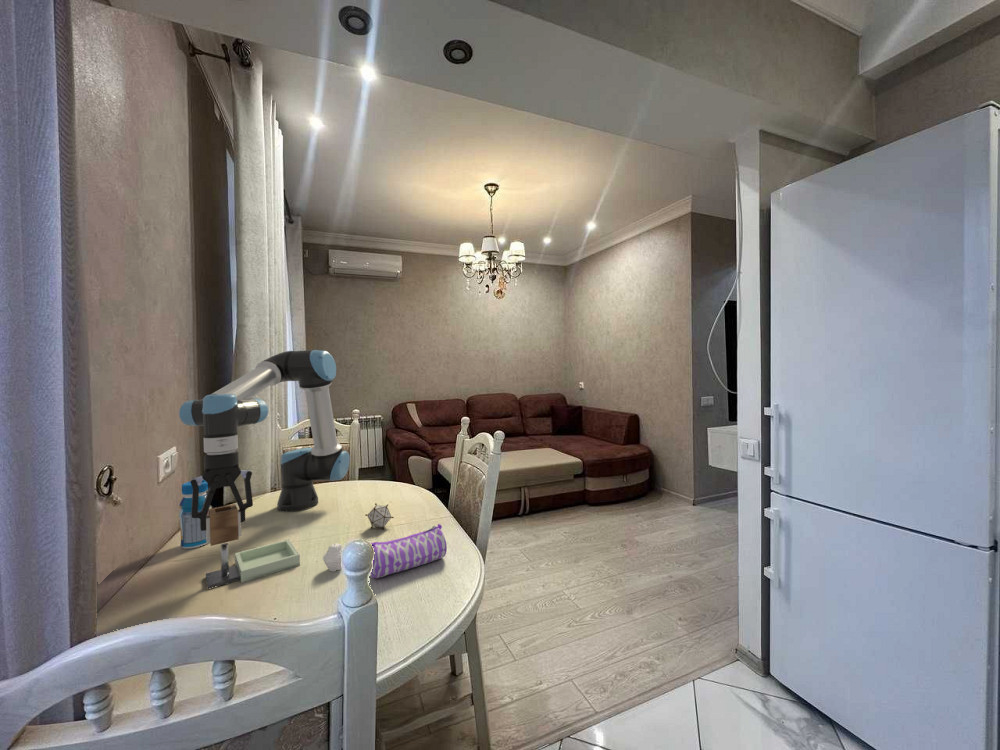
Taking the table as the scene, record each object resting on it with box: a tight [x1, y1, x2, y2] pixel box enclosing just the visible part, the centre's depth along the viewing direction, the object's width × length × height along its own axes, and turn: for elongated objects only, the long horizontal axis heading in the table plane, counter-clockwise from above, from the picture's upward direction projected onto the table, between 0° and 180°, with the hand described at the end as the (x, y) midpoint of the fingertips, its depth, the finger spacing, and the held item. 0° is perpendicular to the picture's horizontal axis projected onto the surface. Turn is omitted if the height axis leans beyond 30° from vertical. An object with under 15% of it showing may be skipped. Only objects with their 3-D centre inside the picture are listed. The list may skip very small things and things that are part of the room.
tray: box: [234, 539, 301, 583], centre depth 114 cm, size 14×14×3 cm
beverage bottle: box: [178, 480, 213, 550], centre depth 129 cm, size 8×8×20 cm
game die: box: [364, 502, 395, 531], centre depth 139 cm, size 9×8×10 cm
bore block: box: [209, 503, 240, 547], centre depth 106 cm, size 6×6×8 cm
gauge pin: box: [205, 542, 241, 590], centre depth 106 cm, size 8×8×9 cm
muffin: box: [322, 543, 344, 572], centre depth 110 cm, size 6×6×7 cm
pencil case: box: [369, 523, 448, 579], centre depth 110 cm, size 22×9×10 cm, turn 128°
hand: (223, 538), depth 106 cm, fingers closed on bore block, 6 cm apart
